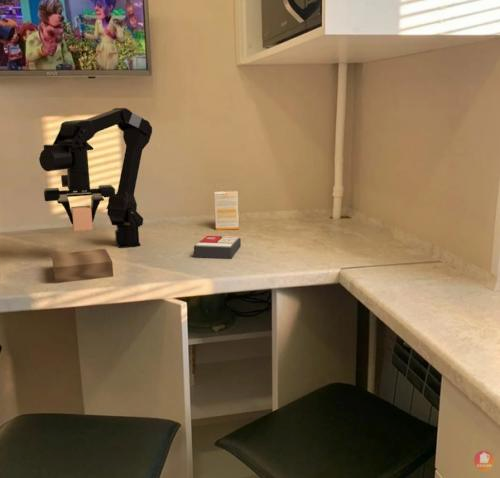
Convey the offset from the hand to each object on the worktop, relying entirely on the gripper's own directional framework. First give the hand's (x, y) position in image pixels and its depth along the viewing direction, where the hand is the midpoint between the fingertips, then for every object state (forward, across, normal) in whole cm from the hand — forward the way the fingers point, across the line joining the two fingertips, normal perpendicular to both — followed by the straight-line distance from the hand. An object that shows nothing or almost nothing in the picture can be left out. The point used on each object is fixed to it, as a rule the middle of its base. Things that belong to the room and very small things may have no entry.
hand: (82, 223), depth 156 cm
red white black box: (+11, -37, +8) cm, 40 cm away
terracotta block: (+2, 0, 0) cm, 2 cm away
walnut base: (+10, +2, +14) cm, 17 cm away
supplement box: (+10, -50, -21) cm, 55 cm away
